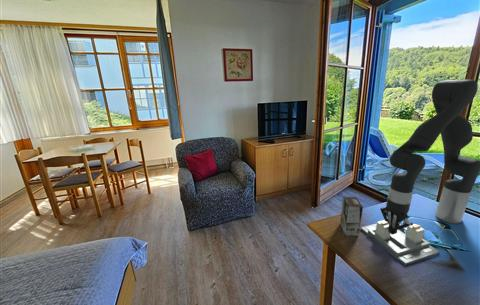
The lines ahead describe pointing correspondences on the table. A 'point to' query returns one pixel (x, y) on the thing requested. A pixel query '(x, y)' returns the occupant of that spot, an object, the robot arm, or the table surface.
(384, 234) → the tab
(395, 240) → the white slotted board
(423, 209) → the table surface
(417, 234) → the tab
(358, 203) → the coffee box
